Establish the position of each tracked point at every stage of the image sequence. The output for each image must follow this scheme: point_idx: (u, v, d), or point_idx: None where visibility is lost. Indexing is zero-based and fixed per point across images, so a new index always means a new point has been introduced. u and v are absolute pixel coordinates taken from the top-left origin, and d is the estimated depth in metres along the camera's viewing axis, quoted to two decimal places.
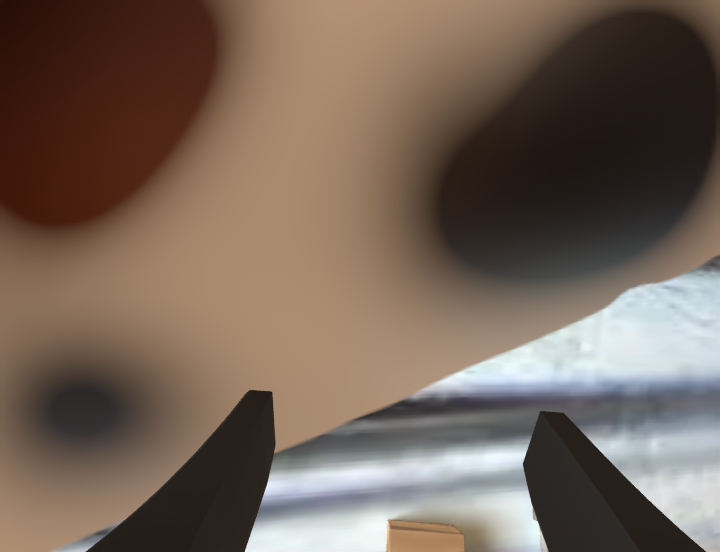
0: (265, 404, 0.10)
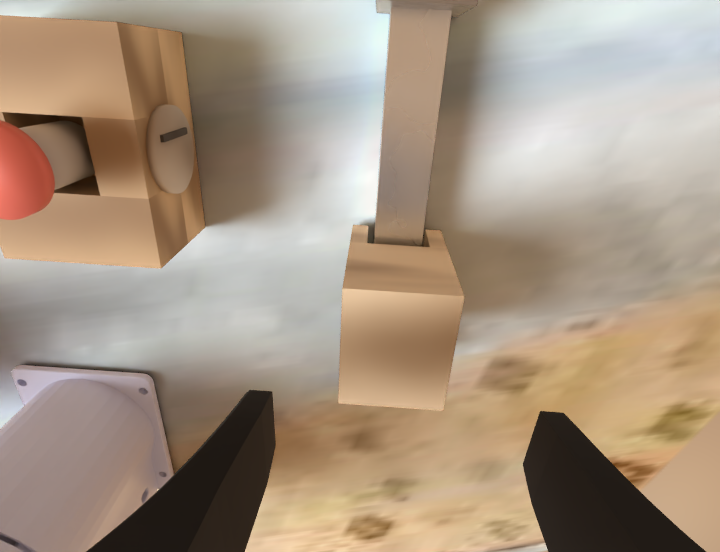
0: (265, 404, 0.10)
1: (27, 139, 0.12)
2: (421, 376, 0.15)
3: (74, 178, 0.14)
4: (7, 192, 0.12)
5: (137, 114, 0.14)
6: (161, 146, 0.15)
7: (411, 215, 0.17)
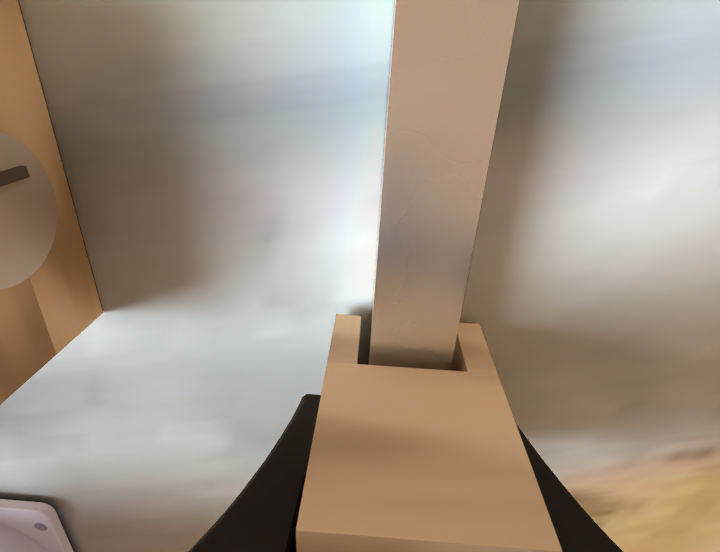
0: None
1: None
2: None
3: None
4: None
5: None
6: None
7: (435, 318, 0.10)
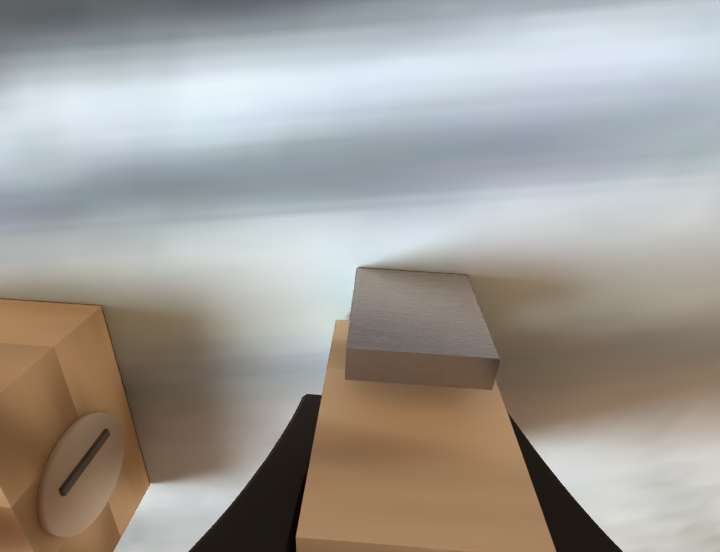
0: None
1: None
2: None
3: None
4: None
5: (17, 493, 0.10)
6: (62, 499, 0.11)
7: None
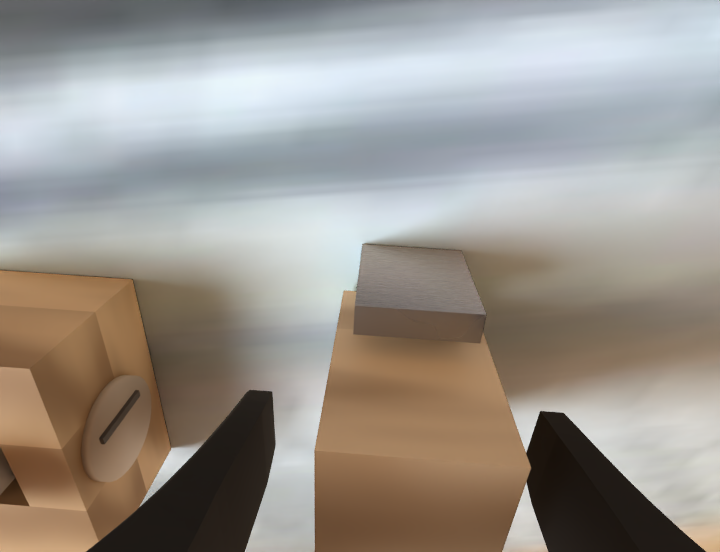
0: (265, 404, 0.10)
1: None
2: None
3: None
4: None
5: (66, 437, 0.11)
6: (101, 447, 0.12)
7: None
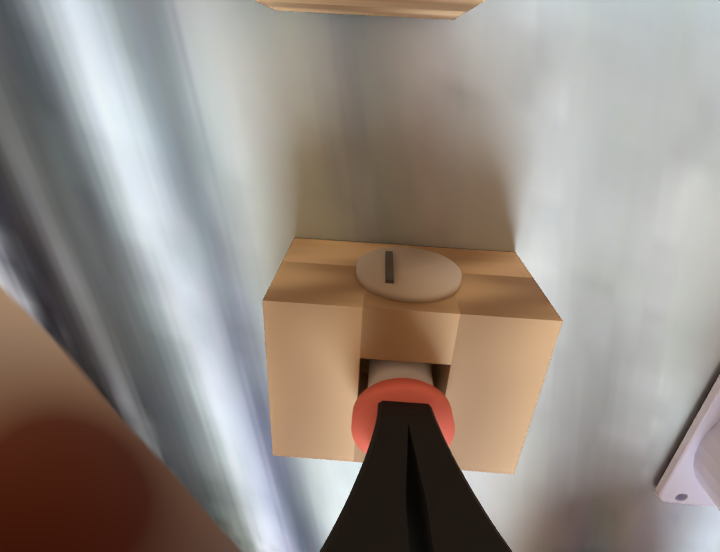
0: (406, 414, 0.10)
1: (371, 389, 0.11)
2: None
3: None
4: None
5: (358, 302, 0.11)
6: (398, 284, 0.12)
7: None
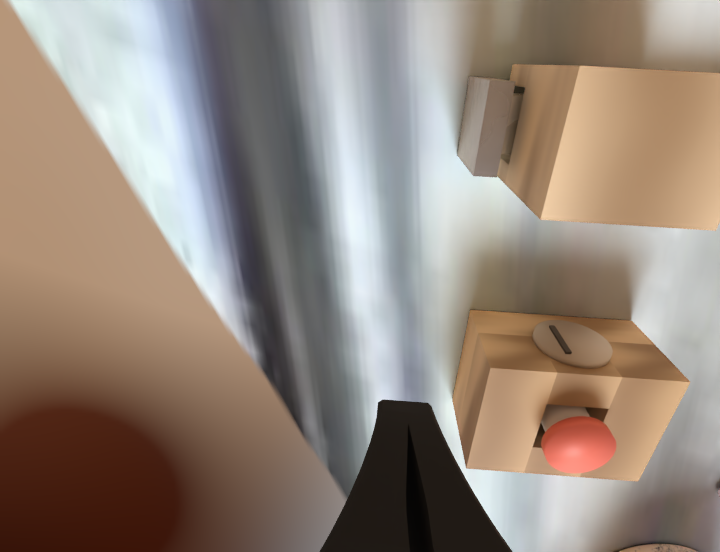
0: (406, 414, 0.10)
1: (561, 423, 0.17)
2: (704, 117, 0.11)
3: None
4: (596, 447, 0.17)
5: (551, 368, 0.17)
6: (574, 354, 0.18)
7: None
